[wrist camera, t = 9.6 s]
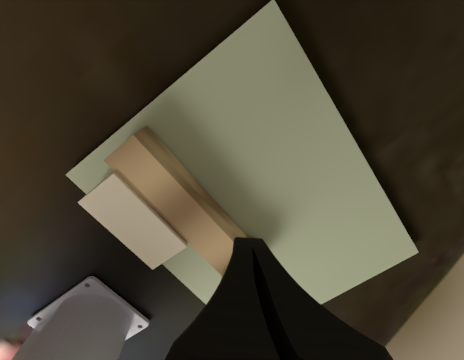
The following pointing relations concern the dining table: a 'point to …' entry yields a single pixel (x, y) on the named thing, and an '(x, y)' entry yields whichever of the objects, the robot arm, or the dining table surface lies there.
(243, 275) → the robot arm
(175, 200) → the leg
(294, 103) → the board
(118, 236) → the block
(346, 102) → the dining table surface
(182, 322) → the dining table surface
